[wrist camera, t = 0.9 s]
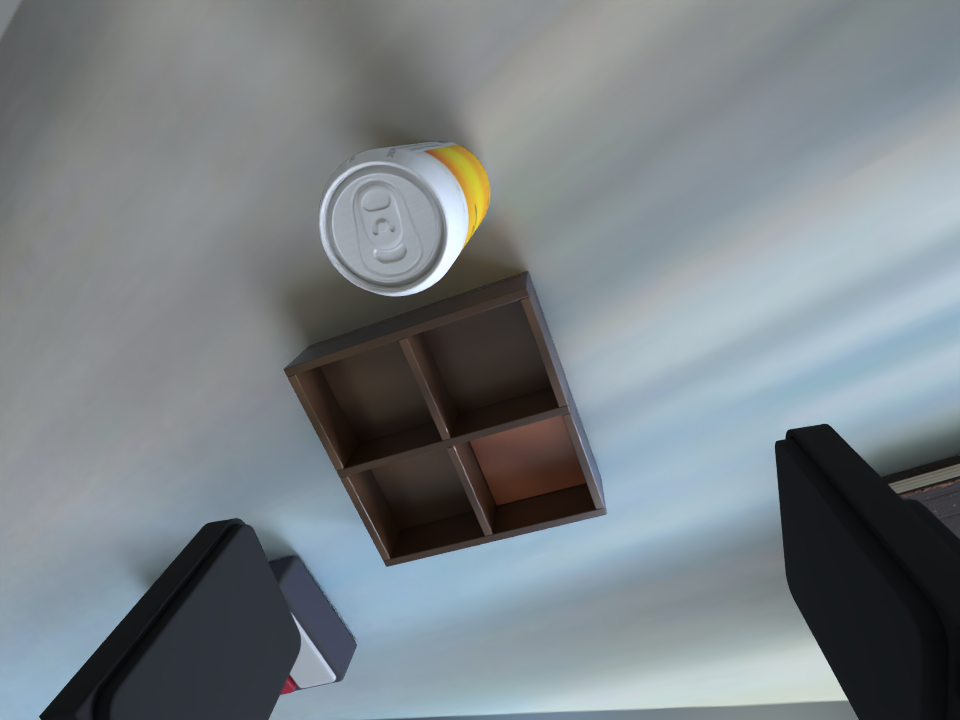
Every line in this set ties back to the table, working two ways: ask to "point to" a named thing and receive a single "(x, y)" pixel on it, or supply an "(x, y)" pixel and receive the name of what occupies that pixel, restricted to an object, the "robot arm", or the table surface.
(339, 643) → the calculator
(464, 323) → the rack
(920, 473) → the hardcover book
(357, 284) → the beer can
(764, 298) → the table surface
